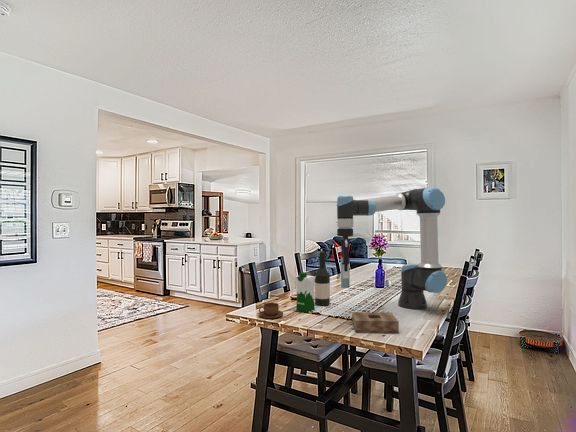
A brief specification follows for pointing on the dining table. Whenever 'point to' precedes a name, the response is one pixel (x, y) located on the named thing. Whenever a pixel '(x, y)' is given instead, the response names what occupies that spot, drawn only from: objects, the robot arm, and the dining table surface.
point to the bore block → (375, 322)
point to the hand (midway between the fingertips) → (345, 277)
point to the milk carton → (305, 292)
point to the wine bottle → (322, 283)
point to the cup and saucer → (270, 311)
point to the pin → (344, 281)
